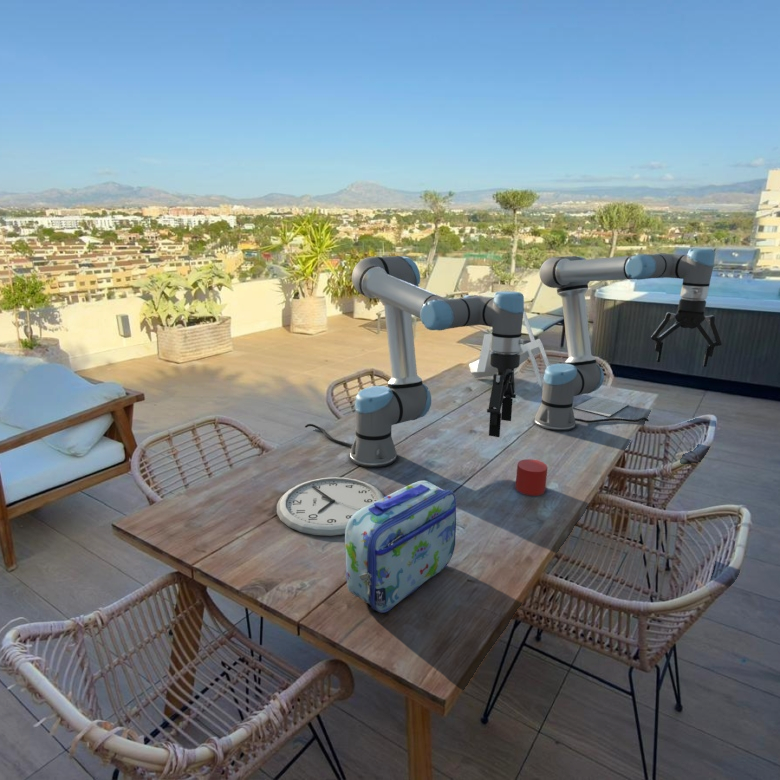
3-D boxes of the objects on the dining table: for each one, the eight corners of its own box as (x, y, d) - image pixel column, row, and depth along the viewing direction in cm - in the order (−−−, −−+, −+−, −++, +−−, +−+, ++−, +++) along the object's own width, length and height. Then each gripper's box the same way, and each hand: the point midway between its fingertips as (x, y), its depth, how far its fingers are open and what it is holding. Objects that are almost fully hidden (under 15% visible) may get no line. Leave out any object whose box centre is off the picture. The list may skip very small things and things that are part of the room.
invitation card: (608, 416, 214) (573, 407, 224) (608, 416, 214) (573, 408, 224) (628, 404, 229) (594, 396, 238) (628, 405, 229) (594, 397, 238)
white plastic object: (490, 419, 265) (470, 397, 240) (471, 347, 287) (451, 319, 262) (561, 395, 253) (548, 369, 228) (536, 321, 275) (521, 290, 250)
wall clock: (392, 527, 129) (268, 531, 127) (391, 533, 130) (269, 537, 127) (383, 473, 158) (282, 475, 155) (383, 478, 158) (282, 480, 156)
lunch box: (374, 626, 100) (375, 530, 93) (338, 598, 107) (337, 508, 101) (459, 568, 117) (465, 484, 111) (424, 547, 124) (427, 467, 118)
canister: (530, 498, 148) (532, 474, 146) (509, 485, 155) (511, 462, 153) (551, 491, 153) (553, 467, 150) (529, 479, 160) (532, 457, 157)
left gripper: (509, 363, 125) (503, 445, 131) (529, 344, 146) (523, 416, 152) (478, 360, 128) (474, 441, 134) (502, 342, 149) (497, 412, 155)
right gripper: (650, 297, 168) (639, 361, 175) (741, 303, 159) (726, 370, 165) (649, 295, 175) (639, 356, 181) (736, 300, 165) (722, 365, 172)
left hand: (500, 427), depth 143 cm, fingers open, 13 cm apart
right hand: (680, 363), depth 173 cm, fingers open, 13 cm apart
